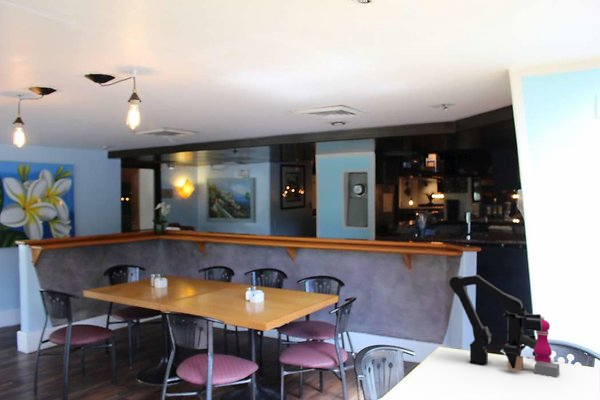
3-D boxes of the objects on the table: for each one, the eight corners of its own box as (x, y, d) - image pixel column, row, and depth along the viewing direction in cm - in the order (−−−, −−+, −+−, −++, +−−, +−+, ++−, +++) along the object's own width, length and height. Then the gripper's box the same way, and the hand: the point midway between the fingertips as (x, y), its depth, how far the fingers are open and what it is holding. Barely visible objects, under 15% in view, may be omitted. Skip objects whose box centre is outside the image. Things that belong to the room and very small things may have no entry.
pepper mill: (555, 363, 208) (554, 318, 209) (538, 363, 208) (537, 317, 209) (546, 359, 215) (546, 314, 216) (530, 358, 215) (530, 314, 216)
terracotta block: (508, 368, 200) (508, 356, 200) (510, 366, 204) (510, 354, 204) (520, 371, 197) (520, 358, 197) (523, 368, 201) (522, 356, 202)
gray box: (534, 374, 193) (534, 364, 194) (538, 370, 199) (537, 360, 199) (556, 378, 189) (556, 368, 189) (559, 374, 194) (559, 364, 194)
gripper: (532, 335, 189) (532, 374, 188) (539, 327, 205) (539, 363, 204) (502, 331, 196) (503, 369, 195) (511, 323, 211) (511, 359, 210)
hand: (515, 365), depth 201 cm, fingers open, 9 cm apart
